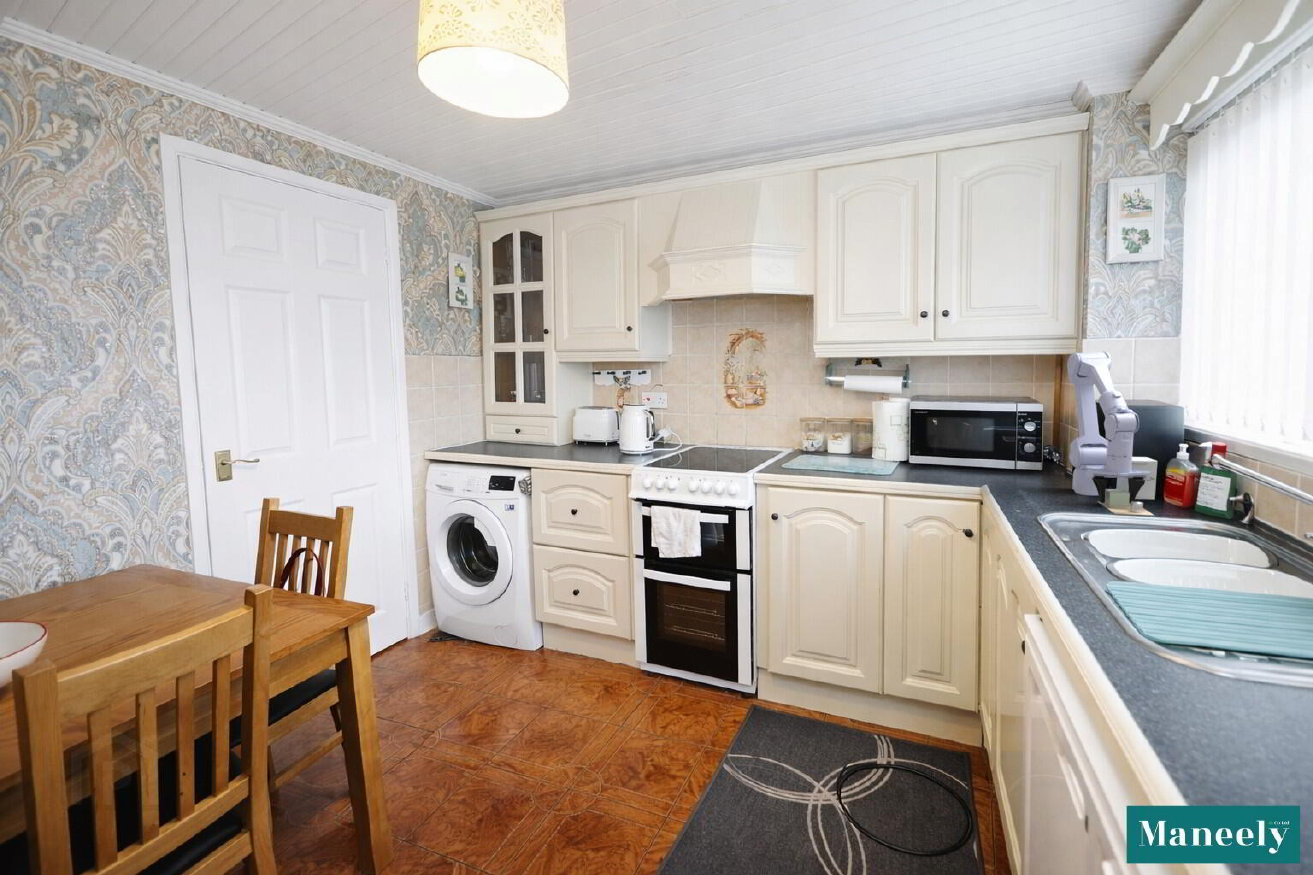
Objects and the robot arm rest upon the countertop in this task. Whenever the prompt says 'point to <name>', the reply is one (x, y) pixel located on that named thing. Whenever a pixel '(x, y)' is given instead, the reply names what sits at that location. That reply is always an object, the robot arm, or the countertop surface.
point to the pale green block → (1117, 498)
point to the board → (1125, 510)
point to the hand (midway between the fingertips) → (1116, 502)
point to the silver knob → (1136, 506)
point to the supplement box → (1149, 485)
